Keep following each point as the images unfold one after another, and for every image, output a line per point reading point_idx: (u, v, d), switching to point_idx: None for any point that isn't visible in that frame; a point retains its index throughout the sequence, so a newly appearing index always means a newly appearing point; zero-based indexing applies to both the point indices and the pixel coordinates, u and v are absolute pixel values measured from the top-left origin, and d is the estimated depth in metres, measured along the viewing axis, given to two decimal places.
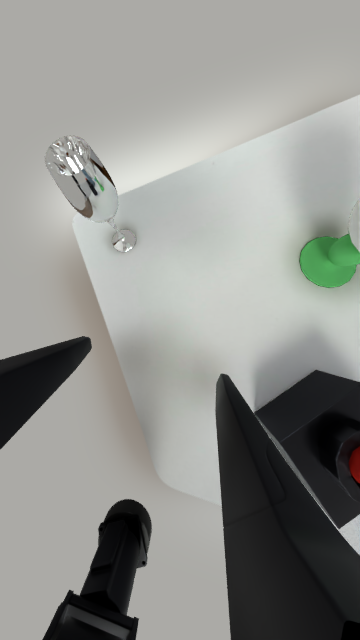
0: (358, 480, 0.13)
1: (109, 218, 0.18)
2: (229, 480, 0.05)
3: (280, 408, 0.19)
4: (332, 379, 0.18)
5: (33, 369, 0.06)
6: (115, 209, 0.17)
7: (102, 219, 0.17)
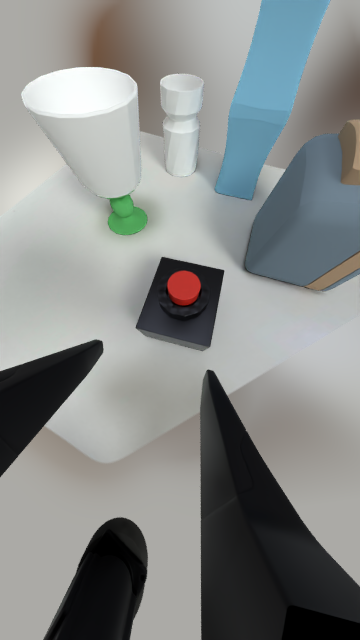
0: (177, 302, 0.17)
1: None
2: (207, 473, 0.05)
3: None
4: None
5: (50, 374, 0.06)
6: None
7: None
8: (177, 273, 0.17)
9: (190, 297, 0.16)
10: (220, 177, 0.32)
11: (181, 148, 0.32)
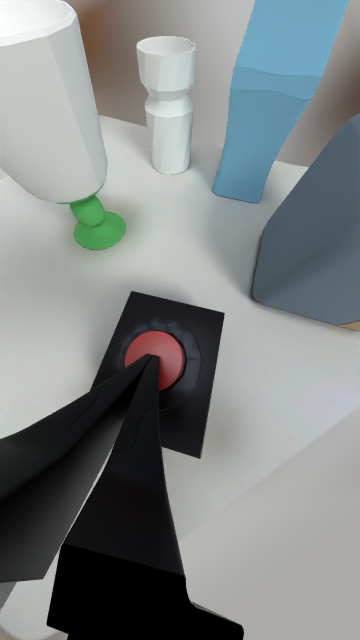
0: None
1: None
2: None
3: None
4: None
5: (123, 396, 0.06)
6: None
7: None
8: (144, 336, 0.10)
9: (163, 386, 0.09)
10: (219, 175, 0.25)
11: (169, 138, 0.25)
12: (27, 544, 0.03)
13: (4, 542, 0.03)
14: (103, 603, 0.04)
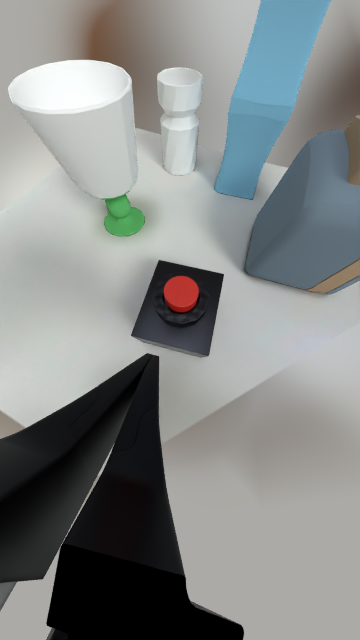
0: (175, 309, 0.16)
1: None
2: None
3: None
4: None
5: (123, 396, 0.06)
6: None
7: None
8: (174, 278, 0.16)
9: (187, 304, 0.15)
10: (220, 176, 0.31)
11: (179, 146, 0.31)
12: (27, 544, 0.03)
13: (4, 542, 0.03)
14: (103, 603, 0.04)
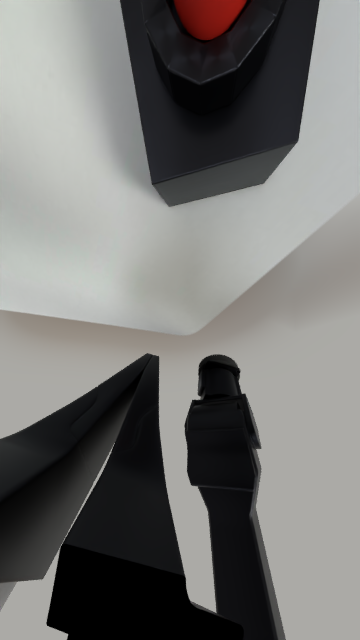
0: (212, 23, 0.06)
1: None
2: None
3: None
4: None
5: (123, 396, 0.06)
6: None
7: None
8: None
9: None
10: None
11: None
12: (27, 544, 0.03)
13: (4, 542, 0.03)
14: (103, 603, 0.04)
